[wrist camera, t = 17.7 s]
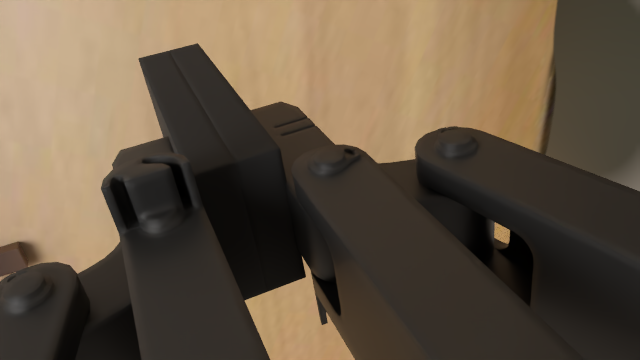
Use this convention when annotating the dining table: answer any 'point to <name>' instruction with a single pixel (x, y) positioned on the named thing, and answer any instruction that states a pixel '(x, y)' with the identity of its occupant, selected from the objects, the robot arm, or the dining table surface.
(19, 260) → the walnut frame
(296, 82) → the dining table surface
